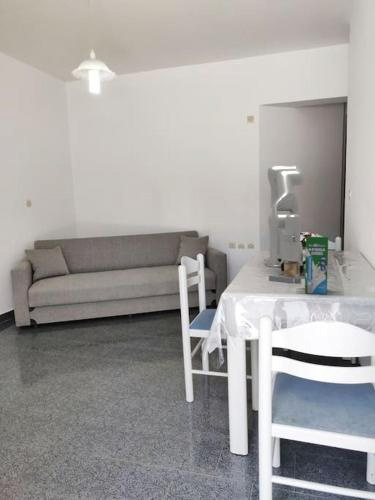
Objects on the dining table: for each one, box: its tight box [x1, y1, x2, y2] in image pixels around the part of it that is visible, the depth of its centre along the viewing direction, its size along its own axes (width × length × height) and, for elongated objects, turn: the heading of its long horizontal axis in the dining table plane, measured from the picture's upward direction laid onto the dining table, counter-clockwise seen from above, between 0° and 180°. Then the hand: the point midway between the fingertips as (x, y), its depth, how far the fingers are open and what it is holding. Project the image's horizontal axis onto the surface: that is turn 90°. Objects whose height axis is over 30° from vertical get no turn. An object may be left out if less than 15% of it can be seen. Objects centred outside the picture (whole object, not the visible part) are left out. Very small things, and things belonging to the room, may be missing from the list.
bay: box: [268, 267, 305, 285], centre depth 193 cm, size 15×20×5 cm
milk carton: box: [304, 235, 329, 295], centre depth 170 cm, size 9×9×25 cm
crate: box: [283, 261, 300, 278], centre depth 198 cm, size 6×6×7 cm
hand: (292, 272), depth 198 cm, fingers open, 9 cm apart
